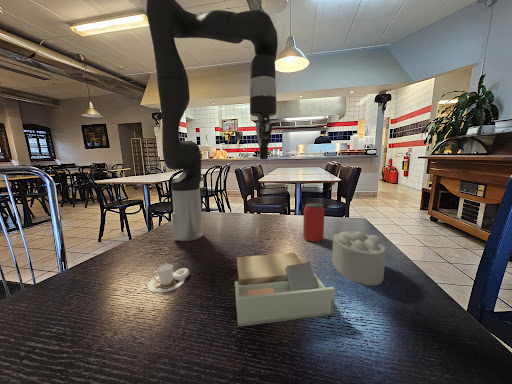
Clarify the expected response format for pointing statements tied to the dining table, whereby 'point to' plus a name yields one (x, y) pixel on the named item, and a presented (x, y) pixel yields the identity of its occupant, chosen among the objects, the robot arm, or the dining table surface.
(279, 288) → the tray
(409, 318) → the dining table surface
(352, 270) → the lumpy-topped squat cylinder
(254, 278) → the board
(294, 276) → the slate tile
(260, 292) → the terracotta tile
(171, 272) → the teacup and saucer
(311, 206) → the beer can
